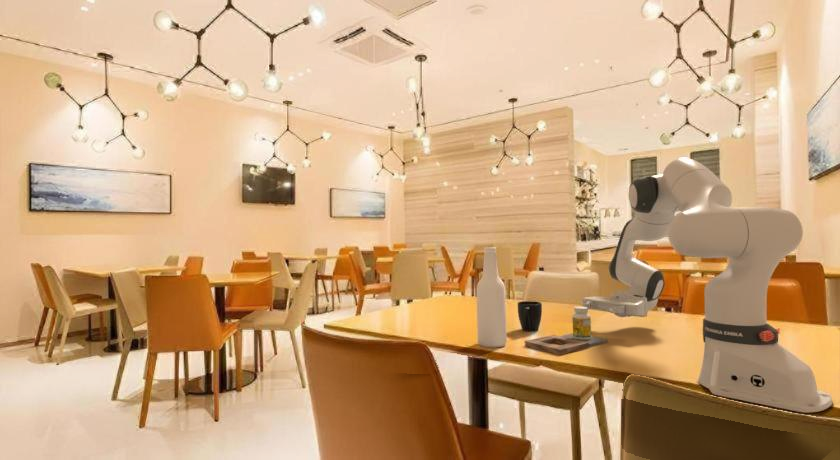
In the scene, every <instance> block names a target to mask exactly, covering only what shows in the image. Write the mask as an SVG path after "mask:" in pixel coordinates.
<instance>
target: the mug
mask: <svg viewBox="0 0 840 460" xmlns="http://www.w3.org/2000/svg"><path fill="white" fill-rule="evenodd" d="M542 306H543V305H542V302H540V301H535V300H523V301H518V302H517V314H518V320H519V324H520V326H521V330H522V331H524V332H531V333H532V332H538V331H539V329H540V324H541V321H542V315H543V313H542V312H543V307H542Z"/></svg>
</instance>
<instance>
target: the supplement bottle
mask: <svg viewBox="0 0 840 460" xmlns="http://www.w3.org/2000/svg"><path fill="white" fill-rule="evenodd" d="M571 319H572V333H573V337H574V338H575V339H579V340H589V339H591V336H592V321H591V315H590V314H589V309H588V308H587V307H583V306H574V313H573V314H572V317H571Z"/></svg>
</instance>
